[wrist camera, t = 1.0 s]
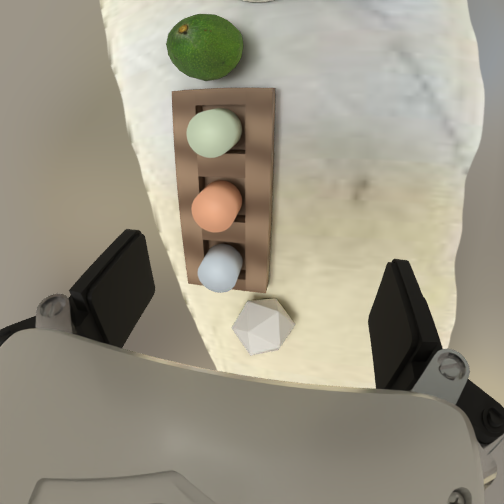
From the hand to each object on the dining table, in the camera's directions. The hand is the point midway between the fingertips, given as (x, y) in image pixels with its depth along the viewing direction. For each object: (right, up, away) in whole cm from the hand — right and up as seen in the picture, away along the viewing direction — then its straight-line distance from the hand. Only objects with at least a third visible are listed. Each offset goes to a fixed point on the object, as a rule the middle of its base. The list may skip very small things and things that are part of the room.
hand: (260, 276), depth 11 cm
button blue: (-4, 0, +31) cm, 31 cm away
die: (+2, -9, +38) cm, 40 cm away
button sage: (-4, +15, +22) cm, 27 cm away
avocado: (-4, +25, +19) cm, 32 cm away
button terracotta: (-4, +7, +26) cm, 28 cm away
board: (-4, +9, +29) cm, 30 cm away
